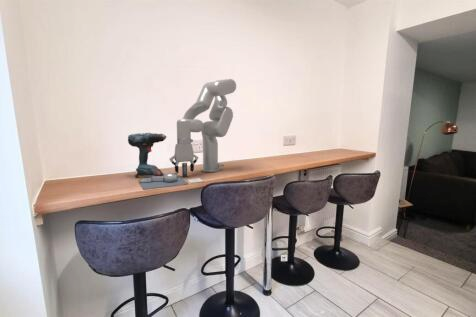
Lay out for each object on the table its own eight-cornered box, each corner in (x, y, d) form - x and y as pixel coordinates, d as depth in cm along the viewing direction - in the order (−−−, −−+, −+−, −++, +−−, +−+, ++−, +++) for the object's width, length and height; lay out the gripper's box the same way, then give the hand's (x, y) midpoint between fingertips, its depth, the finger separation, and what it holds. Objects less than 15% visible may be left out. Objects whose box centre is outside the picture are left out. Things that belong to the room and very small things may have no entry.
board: (178, 176, 139) (178, 175, 139) (188, 184, 123) (188, 183, 123) (137, 180, 128) (137, 180, 128) (143, 189, 112) (143, 189, 112)
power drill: (165, 178, 131) (162, 133, 127) (127, 177, 135) (124, 132, 131) (172, 175, 139) (170, 132, 135) (137, 173, 144) (134, 132, 140)
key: (186, 175, 140) (186, 162, 139) (187, 176, 138) (187, 163, 136) (181, 176, 139) (181, 162, 137) (183, 177, 136) (182, 163, 135)
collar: (178, 178, 131) (178, 172, 130) (176, 182, 124) (175, 175, 123) (142, 179, 129) (142, 172, 129) (138, 182, 122) (138, 175, 122)
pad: (199, 178, 134) (199, 178, 133) (203, 181, 128) (203, 181, 128) (186, 180, 130) (186, 179, 130) (191, 183, 124) (191, 182, 124)
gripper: (196, 140, 142) (196, 169, 145) (166, 141, 134) (167, 172, 136) (200, 141, 136) (201, 171, 139) (170, 142, 127) (171, 174, 130)
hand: (184, 171), depth 138 cm, fingers open, 8 cm apart
